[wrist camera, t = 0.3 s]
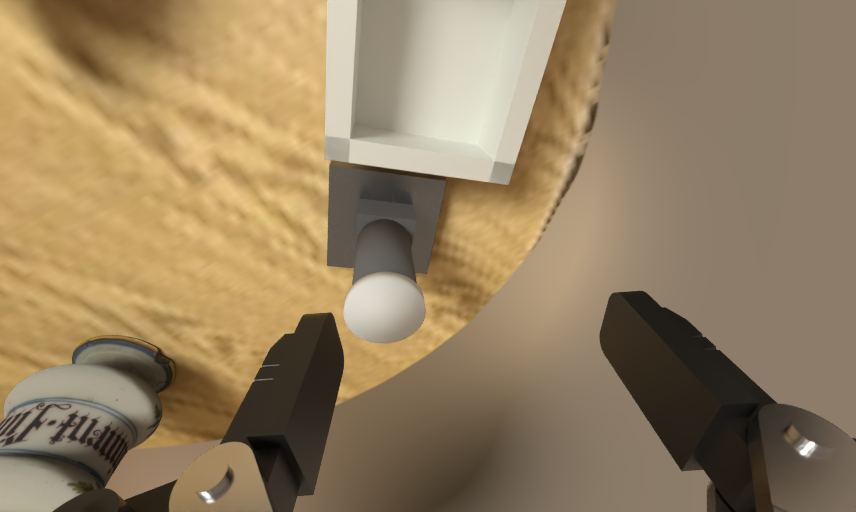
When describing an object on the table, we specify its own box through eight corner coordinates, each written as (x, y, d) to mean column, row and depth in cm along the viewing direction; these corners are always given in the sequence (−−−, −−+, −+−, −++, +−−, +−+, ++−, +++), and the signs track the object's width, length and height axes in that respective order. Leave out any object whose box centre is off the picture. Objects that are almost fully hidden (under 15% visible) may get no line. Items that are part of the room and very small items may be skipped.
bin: (343, -129, 19) (330, -191, 14) (549, -65, 22) (597, -98, 17) (334, 140, 27) (324, 159, 22) (487, 163, 30) (508, 185, 25)
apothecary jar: (210, 376, 40) (105, 575, 25) (130, 409, 41) (-16, 617, 26) (123, 311, 33) (-90, 525, 18) (32, 352, 35) (-237, 584, 20)
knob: (358, 197, 28) (345, 278, 18) (414, 203, 29) (432, 284, 19) (354, 246, 31) (341, 341, 21) (406, 250, 32) (418, 344, 22)
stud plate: (331, 159, 28) (324, 176, 24) (443, 175, 30) (452, 192, 26) (329, 257, 33) (322, 283, 29) (425, 265, 35) (430, 290, 31)
